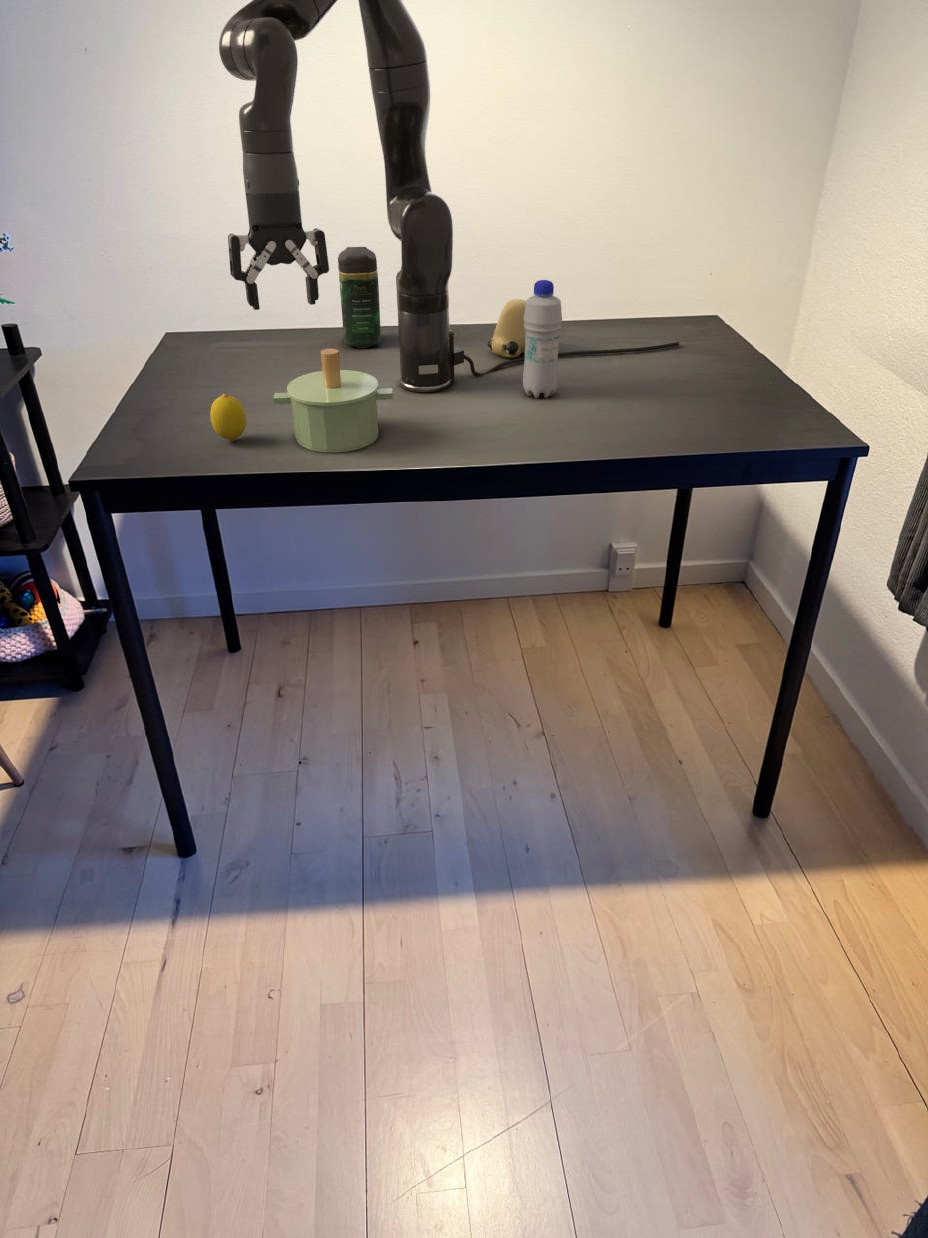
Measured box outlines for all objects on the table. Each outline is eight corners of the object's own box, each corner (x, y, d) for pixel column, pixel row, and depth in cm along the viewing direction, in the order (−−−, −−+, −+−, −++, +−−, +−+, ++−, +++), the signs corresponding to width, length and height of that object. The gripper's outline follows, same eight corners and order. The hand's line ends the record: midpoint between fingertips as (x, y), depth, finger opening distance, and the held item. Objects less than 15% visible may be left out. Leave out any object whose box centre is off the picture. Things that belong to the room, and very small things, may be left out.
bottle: (533, 403, 158) (537, 287, 147) (514, 390, 163) (517, 278, 152) (565, 396, 161) (572, 282, 149) (545, 384, 166) (550, 273, 154)
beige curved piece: (499, 364, 186) (469, 338, 178) (527, 313, 185) (499, 284, 177) (532, 375, 179) (502, 348, 171) (561, 322, 178) (533, 292, 170)
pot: (282, 421, 152) (276, 376, 148) (393, 417, 154) (391, 371, 149) (276, 455, 141) (269, 407, 136) (396, 449, 142) (393, 402, 138)
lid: (290, 378, 148) (285, 338, 145) (378, 374, 150) (375, 335, 146) (284, 411, 137) (278, 368, 133) (379, 407, 138) (376, 365, 134)
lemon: (241, 449, 143) (233, 401, 138) (209, 446, 144) (200, 399, 139) (254, 435, 147) (247, 389, 143) (223, 433, 148) (215, 386, 144)
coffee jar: (382, 348, 184) (377, 253, 173) (344, 350, 183) (336, 255, 172) (380, 334, 191) (375, 242, 181) (343, 335, 191) (336, 243, 180)
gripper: (314, 182, 131) (323, 297, 139) (216, 186, 126) (231, 305, 135) (328, 188, 125) (336, 307, 134) (226, 192, 120) (241, 316, 129)
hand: (283, 306), depth 134 cm, fingers open, 8 cm apart
